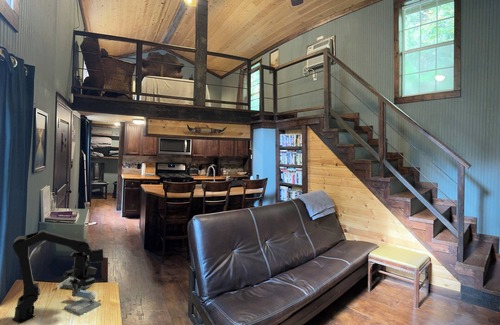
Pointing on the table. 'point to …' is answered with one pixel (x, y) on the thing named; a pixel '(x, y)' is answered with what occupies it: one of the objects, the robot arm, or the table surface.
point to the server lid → (82, 306)
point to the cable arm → (84, 294)
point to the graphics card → (69, 285)
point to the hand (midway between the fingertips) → (77, 293)
